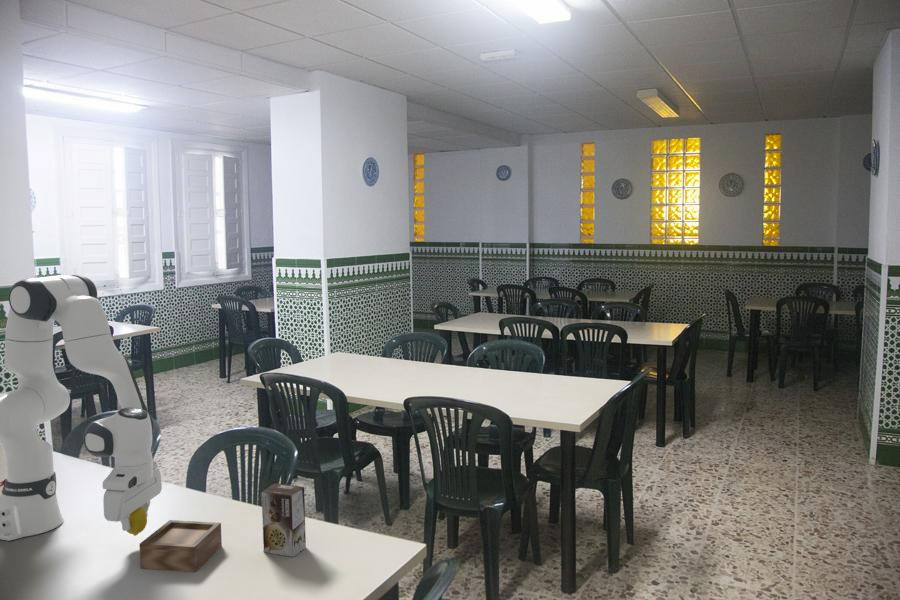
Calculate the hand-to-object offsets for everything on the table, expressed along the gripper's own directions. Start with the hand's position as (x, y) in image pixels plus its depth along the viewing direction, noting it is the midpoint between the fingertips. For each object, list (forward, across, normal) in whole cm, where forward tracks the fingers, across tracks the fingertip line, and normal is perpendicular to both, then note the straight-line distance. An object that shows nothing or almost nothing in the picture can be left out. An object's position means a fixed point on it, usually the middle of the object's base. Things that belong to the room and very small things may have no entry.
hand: (135, 523), depth 179 cm
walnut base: (+6, +4, +15) cm, 16 cm away
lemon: (+3, 0, 0) cm, 3 cm away
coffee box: (+5, -3, +39) cm, 39 cm away
